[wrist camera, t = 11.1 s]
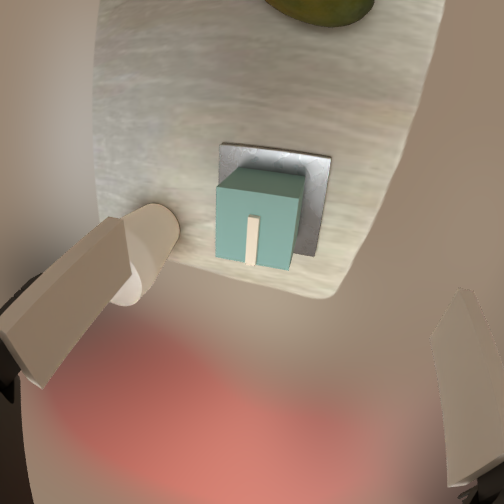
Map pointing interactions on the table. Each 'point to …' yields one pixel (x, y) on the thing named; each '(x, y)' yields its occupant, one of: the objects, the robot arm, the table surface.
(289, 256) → the teal block
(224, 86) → the table surface
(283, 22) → the table surface
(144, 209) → the cup
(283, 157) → the shaft fixture
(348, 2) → the fruit
